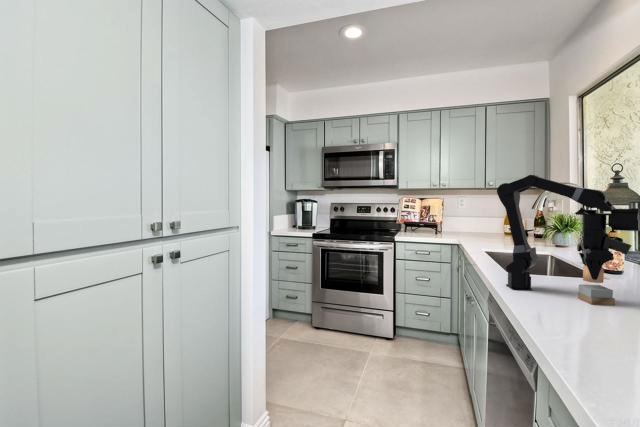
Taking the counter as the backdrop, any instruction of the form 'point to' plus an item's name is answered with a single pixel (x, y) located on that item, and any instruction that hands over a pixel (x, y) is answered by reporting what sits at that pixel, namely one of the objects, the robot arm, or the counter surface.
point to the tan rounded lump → (588, 277)
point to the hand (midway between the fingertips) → (593, 277)
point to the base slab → (596, 300)
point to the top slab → (596, 291)
